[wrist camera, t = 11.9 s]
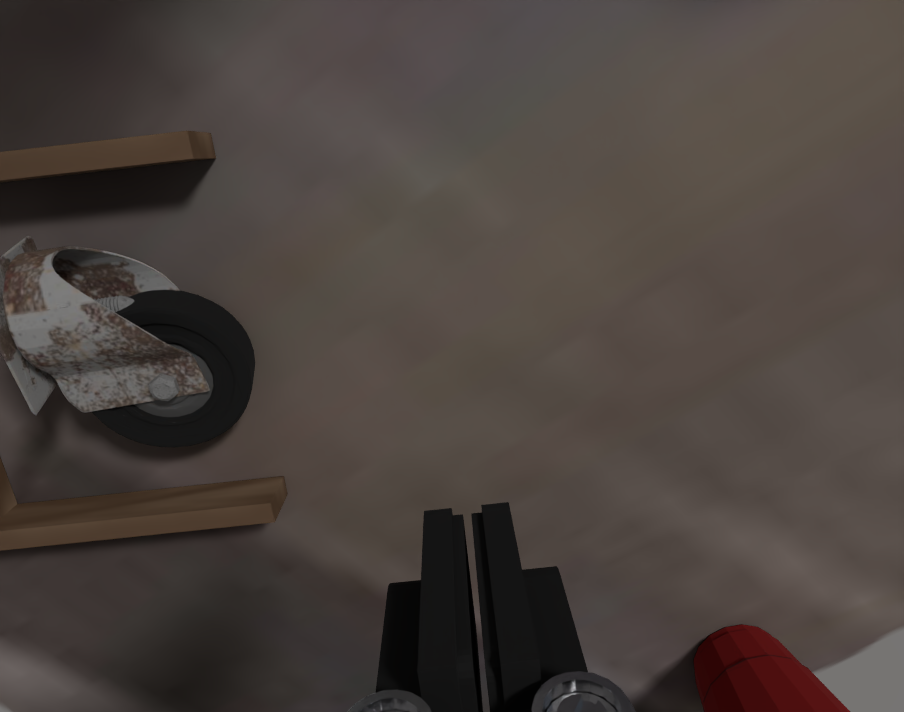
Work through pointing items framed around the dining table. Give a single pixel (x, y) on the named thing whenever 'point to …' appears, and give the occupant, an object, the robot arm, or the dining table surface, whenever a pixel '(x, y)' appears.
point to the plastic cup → (756, 675)
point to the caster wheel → (122, 344)
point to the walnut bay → (142, 510)
